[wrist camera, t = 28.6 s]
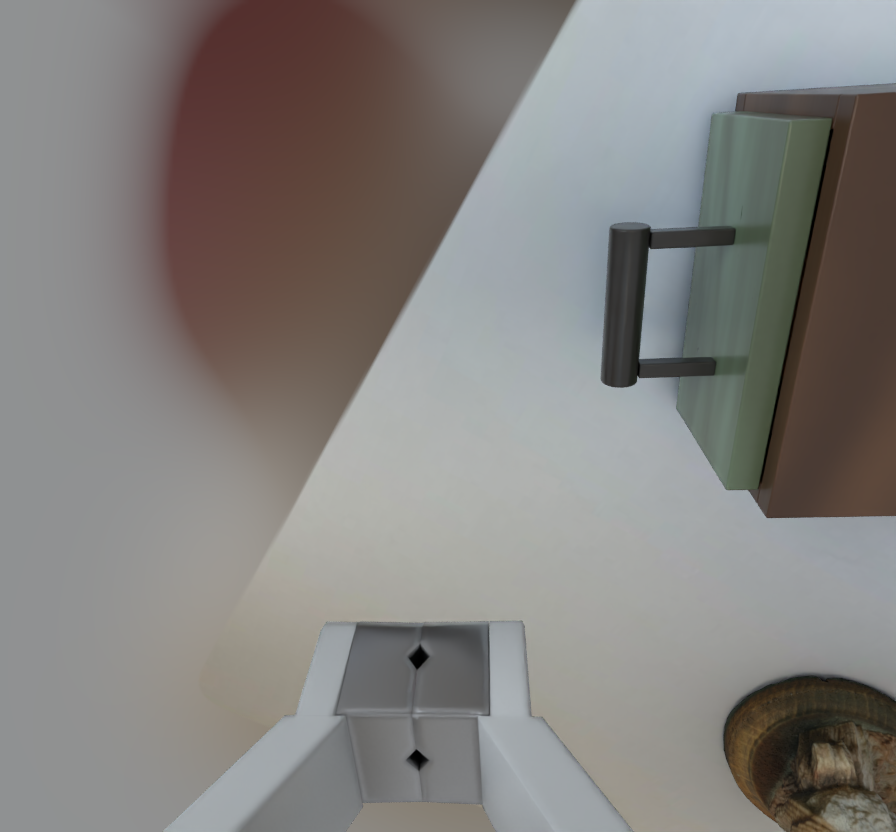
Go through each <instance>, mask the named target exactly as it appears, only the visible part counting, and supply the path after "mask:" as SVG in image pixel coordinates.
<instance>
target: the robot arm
mask: <svg viewBox="0 0 896 832" xmlns="http://www.w3.org/2000/svg"><path fill="white" fill-rule="evenodd" d="M376 802H437V803H459V804H481V805H483V809H484V811H485V812H486V814H487V816H488V818H489V820H490V822H491V824H492V826H493V828H494V829H495V831H496V832H634V831H633V830H632V829H631V828H630V826H629V825H628V824H627V823H626V821H625V820H624V819H623V818H622V816H621V815H620V814H619V812H618V811H617V810H616V809H615V807H614V806H613V805H612V804H611V802H610V801H609V800H608V799H607V797H606V796H605V795H604V794H603V792H602V791H601V790H600V789H599V787H598V786H597V785H596V784H595V782H594V781H593V780H592V779H591V777H590V776H589V775H588V774H587V772H586V771H585V770H584V769H583V767H582V766H581V765H580V764H579V762H578V761H577V760H576V759H575V757H574V756H573V755H572V754H571V752H570V751H569V750H568V749H567V747H566V746H565V745H564V744H563V742H562V741H561V740H560V739H559V737H558V736H557V735H556V734H555V732H554V731H553V730H552V729H551V727H550V726H549V725H548V724H547V722H546V721H545V720H544V719H543V717H532V715H531V702H530V690H529V677H528V664H527V651H526V638H525V626H524V624H523V622H522V621H490V623H489V621H479V622H424V623H403V622H326V624H325V625H324V626H323V628H322V629H321V632H320V635H319V638H318V642H317V645H316V648H315V651H314V655H313V658H312V661H311V665H310V668H309V671H308V674H307V678H306V681H305V684H304V688H303V691H302V694H301V697H300V701H299V704H298V707H297V711H296V714H295V715H285V716H284V717H283V718H282V719H281V720H280V721H279V722H277V723H276V724H275V725H274V726H273V727H272V728H271V729H270V730H269V731H268V732H267V733H266V734H265V735H264V736H263V737H262V738H261V739H260V740H259V741H257V743H255V744H254V745H253V746H252V747H251V748H250V749H249V750H248V751H247V752H246V753H245V754H244V755H243V756H242V757H241V758H240V759H239V760H238V761H236V762H235V763H234V764H233V765H232V766H231V767H230V768H229V769H228V770H227V771H226V772H225V773H224V774H223V775H222V776H221V777H220V778H219V779H217V781H216V782H214V783H213V784H212V785H211V786H210V787H209V788H208V789H207V790H206V791H205V792H204V793H203V794H202V795H201V796H200V797H199V798H198V799H196V801H194V802H193V803H192V804H191V805H190V806H189V807H188V808H187V809H186V810H185V811H184V812H183V813H182V814H181V815H180V816H179V817H178V818H177V819H175V820H174V821H173V822H172V823H171V824H170V825H169V826H168V827H167V828H166V829H165V830H164V831H163V832H346V831H347V829H348V828H349V826H350V825H351V824H352V822H353V821H354V819H355V818H356V816H357V815H358V813H359V812H360V811H361V809H362V808H363V804H362V803H376Z"/></svg>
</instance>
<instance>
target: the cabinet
mask: <svg viewBox="0 0 896 832" xmlns="http://www.w3.org/2000/svg"><path fill="white" fill-rule="evenodd" d="M736 111H748V112H761V113H774V114H787V115H800V116H813V117H826V118H832V125H831V130H833V129H834V130H833V135H832V140H831V145H830V150H829V155H828V160H827V165H826V170H825V175H824V180H823V185H822V189H821V194H820V199H819V204H818V209H817V214H816V219H815V224H814V229H813V234H812V239H811V244H810V249H809V253H808V258H807V263H806V268H805V273H804V278H803V283H802V288H801V293H800V298H799V303H798V308H797V312H796V317H795V322H794V327H793V332H792V337H791V342H790V347H789V352H788V357H787V362H786V367H785V371H784V376H783V381H782V386H781V391H780V396H779V401H778V406H777V411H776V416H775V421H774V426H773V431H772V434H771V432H770V433H769V438H768V443H767V448H766V453H765V458H764V463H763V468H762V473H761V478H760V482H759V487H758V489H757V490H749V492H750V493H751V495H752V496H753V498H754V499H755V501H756V502H757V503H758V506H759V507H760V509H761V510H762V512H763V513H764V515H765V516H766V517H767V518H800V517H860V516H896V83H892V84H876V85H860V86H844V87H828V88H812V89H796V90H780V91H763V92H747V93H739V94H738V96H737V103H736ZM736 111H735V112H736Z"/></svg>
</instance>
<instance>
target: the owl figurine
mask: <svg viewBox="0 0 896 832" xmlns="http://www.w3.org/2000/svg"><path fill="white" fill-rule="evenodd" d="M826 681H828V682H824V681H821V680H820V679H819V678H818V677H810V676H806V677H797V678H792V679H788V680H786V681H782V682H780V683H777V684H771V685H769V686H766V687H765V688H763V689H761V690H758V691H756V692H754V693H753V694H751V695H749V696H748V697H747V698H746V699H744V700H743V701H742V702H741V703H740V704H739V706H737V707H736V708H734V710H733V711H732V712H731V713H730V715H729V717H728V719H727V722H726V724H725V731H724V751H725V756H726V759H727V762H728V764H729V767H730V769H731V772H732V774H733V777H734V779H735V781H736V783H737V784H738V786H739V788H740V789H741V791H742V792H743V793H744V794H745V796H746V797H747V798H748V799H749V800H750V801H751V802H752V803H753V804H754V805H755V806H756V807H757V808H758V809H759V810H761V811H762V812H763V813H764V814H765V815H767V816H768V817H769V818H771V819H772V820H774V821H775V822H776V823H778V824H779V826H780V827H781V828H782V829H784V830H785V831H786V832H896V701H894V700H892V699H891V698H889V697H887V696H886V695H885V694H882V693H881V692H878V691H877V690H874V689H872V688H870V687H867V686H865V685H863V684H860V683H857V682H852V681H849V680H844V679H842V678H832V679H826Z"/></svg>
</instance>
